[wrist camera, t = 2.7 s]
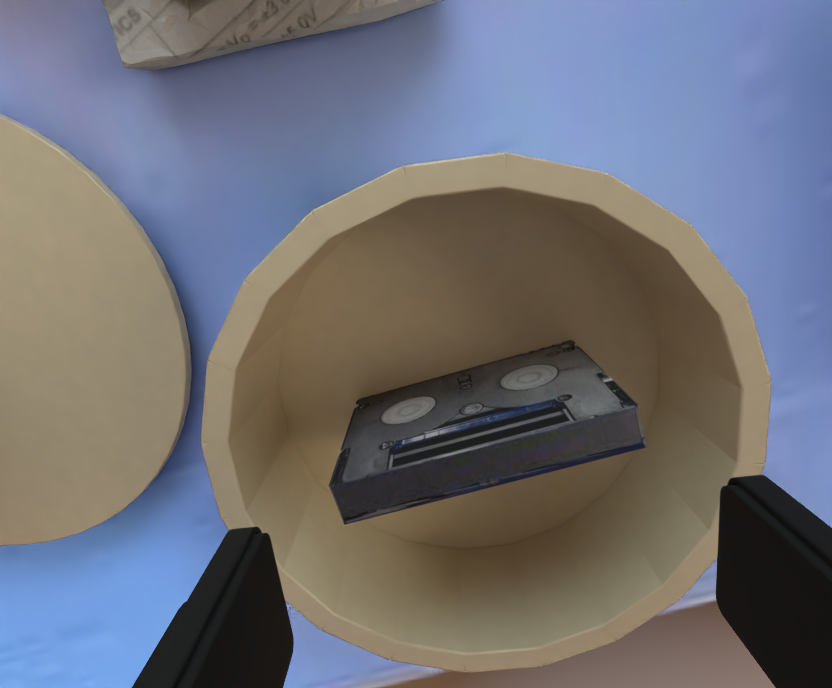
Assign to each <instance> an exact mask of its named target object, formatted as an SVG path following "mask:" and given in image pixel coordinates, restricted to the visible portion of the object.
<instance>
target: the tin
mask: <svg viewBox="0 0 832 688" xmlns="http://www.w3.org/2000/svg"><path fill="white" fill-rule="evenodd" d="M570 340H572V341H574V342H575V343H576V344H577V345H578V346H579V347H580V348H581V349H582V350H583V351H584V352H585V353H586V354H587V355H588V356H589V357H590V358H591V359H592V360H593V361H594V362H595V363H596V364H597V365H598V366H599V367H600V368H602V369H603V370H604V371H605V372H606V373H607V374H608V375H609V376H610V377H611V378H612V379H613V380H614V381H615V382H616V383H617V384H618V385H619V386H620V387H621V388H622V389H623V390H624V391H625V392H626V393H627V394H628V395H629V396H630V397H631V398H632V399H633V400H634V401H636V402H637V403H638V408H639V413H640V418H641V423H642V428H643V433H644V438H645V444H646V448H643V449H639V450H635V451H631V452H627V453H623V454H619V455H615V456H611V457H608V458H604V459H600V460H596V461H592V462H588V463H584V464H580V465H576V466H572V467H568V468H565V469H561V470H557V471H553V472H549V473H545V474H541V475H537V476H533V477H529V478H526V479H522V480H518V481H514V482H510V483H506V484H502V485H498V486H494V487H490V488H487V489H483V490H479V491H475V492H471V493H467V494H463V495H459V496H455V497H451V498H447V499H444V500H440V501H436V502H432V503H428V504H424V505H420V506H416V507H412V508H408V509H405V510H401V511H397V512H393V513H389V514H385V515H381V516H377V517H373V518H369V519H366V520H362V521H358V522H354V523H350V524H346V525H344V523H343V520H342V518H341V515H340V513H339V510H338V508H337V505H336V503H335V500H334V498H333V495H332V492H331V490H330V487H329V483H330V480H331V477H332V474H333V471H334V468H335V465H336V462H337V459H338V456H339V453H340V450H341V447H342V444H343V441H344V438H345V434H346V431H347V428H348V425H349V422H350V419H351V416H352V413H353V410H354V407H355V404H356V401H357V400H359V399H361V398H364V397H368V396H371V395H375V394H379V393H382V392H386V391H389V390H393V389H397V388H400V387H404V386H407V385H411V384H415V383H418V382H422V381H425V380H429V379H433V378H436V377H440V376H443V375H447V374H450V373H454V372H458V371H461V370H465V369H468V368H472V367H476V366H479V365H483V364H486V363H490V362H494V361H497V360H501V359H504V358H508V357H511V356H515V355H519V354H522V353H526V352H529V351H533V350H537V349H540V348H544V347H547V346H551V345H555V344H558V343H562V342H565V341H570ZM770 381H771V377H770V374H769V370H768V367H767V363H766V360H765V357H764V353H763V350H762V346H761V343H760V339H759V336H758V333H757V329H756V326H755V322H754V319H753V315H752V312H751V309H750V305H749V302H748V300H747V296H746V295H745V294H744V292H743V291H742V290H741V288H740V287H739V286H738V285H737V283H736V282H735V281H734V279H733V278H732V277H731V275H730V274H729V273H728V272H727V270H726V269H725V268H724V266H723V265H722V264H721V262H720V261H719V260H718V258H717V257H716V256H715V255H714V253H713V252H712V251H711V249H710V248H709V247H708V245H707V244H706V243H705V242H704V240H703V239H702V238H701V236H700V235H699V234H698V232H697V231H696V230H695V229H694V227H693V226H691V225H690V224H689V223H688V222H686V221H685V220H683V219H682V218H680V217H678V216H677V215H675V214H673V213H672V212H670V211H669V210H667V209H665V208H664V207H662V206H660V205H659V204H657V203H656V202H654V201H652V200H651V199H649V198H647V197H646V196H644V195H643V194H641V193H639V192H638V191H636V190H634V189H633V188H631V187H630V186H628V185H626V184H625V183H623V182H621V181H620V180H618V179H617V178H615V177H613V176H612V175H610V174H606V173H605V172H601V171H596V170H591V169H586V168H582V167H577V166H572V165H567V164H562V163H557V162H552V161H548V160H543V159H538V158H533V157H528V156H523V155H519V154H514V153H509V152H508V153H503V152H501V153H494V154H486V155H479V156H471V157H463V158H456V159H448V160H441V161H433V162H425V163H418V164H410V165H405V166H403V167H402V166H401V167H398V168H396V169H394V170H392V171H390V172H388V173H386V174H384V175H382V176H380V177H378V178H376V179H374V180H372V181H370V182H368V183H366V184H364V185H362V186H360V187H358V188H356V189H354V190H352V191H350V192H348V193H346V194H344V195H342V196H340V197H338V198H336V199H334V200H332V201H330V202H328V203H326V204H324V205H322V206H320V207H318V208H316V209H314V210H312V212H310V213H308V214H307V215H306V216H305V217H304V218H303V219H302V220H301V222H300V223H299V224H298V225H297V226H296V227H295V228H294V229H293V230H292V231H291V232H290V233H289V234H288V235H287V236H286V237H285V238H284V239H283V240H282V241H281V242H280V243H279V244H278V245H277V246H276V247H275V248H274V249H273V250H272V251H271V252H270V253H269V254H268V255H267V256H266V257H265V258H264V259H263V260H262V261H261V262H260V264H259V265H258V266H257V267H256V268H255V269H254V270H253V271H252V272H251V273H250V274H249V275H248V276H247V277H246V278H245V280H244V281H243V283H242V285H241V287H240V289H239V291H238V293H237V296H236V298H235V300H234V302H233V304H232V307H231V309H230V311H229V313H228V315H227V318H226V320H225V322H224V324H223V326H222V328H221V331H220V333H219V335H218V337H217V339H216V342H215V344H214V346H213V348H212V350H211V353H210V355H209V357H208V362H207V369H206V382H205V394H204V406H203V419H202V431H201V447H202V451H203V454H204V458H205V462H206V466H207V469H208V473H209V477H210V481H211V484H212V488H213V492H214V496H215V499H216V503H217V507H218V511H219V514H220V517H221V518H222V521H223V522H224V524H225V525H226V527H227V528H228V530H231V529H237V528H247V527H259V528H260V530H261V532H262V533H268V534H269V535H270V538H271V542H272V547H273V551H274V555H275V560H276V564H277V568H278V573H279V577H280V581H281V585H282V590H283V594H284V598H285V601H286V602H287V603H289V604H290V605H291V606H292V607H293V608H295V609H296V610H297V611H298V612H299V613H301V614H302V615H303V616H304V617H306V618H307V619H308V620H309V621H310V622H312V623H313V624H314V625H315V626H316V627H318V628H319V629H322V631H324V632H327V633H329V634H331V635H333V636H336V637H338V638H340V639H342V640H345V641H347V642H349V643H351V644H354V645H356V646H358V647H360V648H363V649H365V650H367V651H369V652H372V653H374V654H376V655H378V656H381V657H383V658H385V659H387V660H390V659H391V660H392V661H397V662H403V663H409V664H415V665H421V666H427V667H433V668H439V669H445V670H451V671H457V672H464V671H465V672H466V673H470V672H481V671H482V672H483V671H494V670H507V669H519V668H532V667H540V666H541V665H542V666H545V665H548V664H551V663H554V662H557V661H560V660H563V659H566V658H569V657H572V656H575V655H578V654H581V653H583V652H587V651H590V650H592V649H596V648H599V647H601V646H604V645H607V644H610V643H613V642H614V640H615V641H618V640H619V639H621V638H622V637H623V636H625V635H627V634H628V633H630V632H631V631H633V630H634V629H636V628H637V627H639V626H641V625H642V624H644V623H645V622H647V621H648V620H650V619H651V618H653V617H654V616H656V615H657V614H659V613H660V612H662V611H663V610H665V609H666V608H668V607H670V606H671V605H673V604H674V603H676V602H677V601H679V600H680V598H682V597H683V596H684V595H685V594H686V593H687V592H688V590H689V589H690V588H691V587H692V586H693V585H694V584H695V582H696V581H697V580H698V579H699V578H700V577H701V575H702V574H703V573H704V572H705V571H706V570H707V569H708V567H709V566H710V565H711V564H712V563H713V562H714V560H715V559H716V558H717V557H718V532H719V507H720V491H721V488H722V487H723V486H727V484H728V481H729V479H731V478H733V477H743V476H752V475H761V473H762V471H763V469H764V463H765V462H766V449H767V436H768V423H769V410H770V397H771V382H770Z"/></svg>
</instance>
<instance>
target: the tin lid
mask: <svg viewBox="0 0 832 688" xmlns="http://www.w3.org/2000/svg"><path fill="white" fill-rule="evenodd" d="M191 377H192V371H191V353H190V343H189V338H188V332H187V327H186V322H185V317H184V314H183V311H182V307H181V304H180V301H179V298H178V295H177V292H176V289H175V286H174V284H173V282H172V280H171V278H170V276H169V273H168V271H167V269H166V267H165V265H164V263H163V261H162V258H161V257H160V255H159V253H158V252H157V250H156V248H155V247H154V245H153V244H152V242H151V240H150V239H149V237H148V235H147V234H146V232H145V231H144V229H143V228H142V226H141V225H140V224H139V222H138V221H137V220H136V219H135V217H134V216H133V215H132V214H131V212H130V211H129V210H128V208H127V207H126V206H125V205H124V203H123V202H122V201H121V200H120V199H119V198H118V197H117V196H116V195H115V194H114V193H113V192H112V191H111V190H110V188H109V187H108V186H107V185H106V184H105V183H104V182H103V181H102V180H101V179H100V178H99V177H98V176H97V175H96V174H95V173H93V172H92V171H91V170H90V169H88V168H87V167H86V166H85V165H84V164H82V163H81V162H80V161H79V160H77V159H76V158H75V157H74V156H73V155H71V154H70V153H69V152H68V151H66V150H65V149H63V148H62V147H60V146H59V145H57V144H55V143H54V142H52V141H51V140H49V139H48V138H46V137H45V136H43V135H42V134H40V133H38V132H37V131H35V130H33V129H31V128H29V127H27V126H25V125H23V124H21V123H19V122H17V121H15V120H13V119H11V118H9V117H7V116H5V115H3V114H0V545H26V544H35V543H41V542H48V541H54V540H58V539H61V538H65V537H68V536H72V535H75V534H78V533H81V532H83V531H86V530H88V529H90V528H92V527H94V526H97V525H99V524H101V523H103V522H105V521H106V520H108V519H109V518H111V517H113V516H114V515H116V514H117V513H119V512H120V511H122V510H123V509H125V508H126V507H127V506H128V505H129V504H130V503H132V502H133V501H134V500H135V499H136V498H137V497H138V496H140V495H141V494H142V493H143V492H144V491H145V490H146V488H147V487H148V486H149V485H150V484H151V482H152V481H153V480H154V479H155V478H156V477H157V475H158V474H159V473H160V472H161V471H162V469H163V467H164V466H165V464H166V462H167V461H168V459H169V457H170V456H171V454H172V452H173V451H174V449H175V446H176V444H177V441H178V439H179V436H180V434H181V431H182V429H183V426H184V422H185V418H186V414H187V409H188V405H189V400H190V388H191Z"/></svg>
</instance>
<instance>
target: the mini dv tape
mask: <svg viewBox="0 0 832 688" xmlns="http://www.w3.org/2000/svg"><path fill="white" fill-rule="evenodd" d="M643 448H646V444H645V438H644V433H643V428H642V423H641V418H640V413H639V408H638V403H637V402H636V401H634V400H633V399H632V398H631V397H630V396H629V395H628V394H627V393H626V392H625V391H624V390H623V389H622V388H621V387H620V386H619V385H618V384H617V383H616V382H615V381H614V380H613V379H612V378H611V377H610V376H609V375H608V374H607V373H606V372H605V371H604V370H603V369H602V368H600V367H599V366H598V365H597V364H596V363H595V362H594V361H593V360H592V359H591V358H590V357H589V356H588V355H587V354H586V353H585V352H584V351H583V350H582V349H581V348H580V347H579V346H578V345H577V344H576V343H575V342H574V341H572V340H570V341H565V342H562V343H558V344H555V345H551V346H547V347H544V348H540V349H537V350H533V351H529V352H526V353H522V354H519V355H515V356H511V357H508V358H504V359H501V360H497V361H494V362H490V363H486V364H483V365H479V366H476V367H472V368H468V369H465V370H461V371H458V372H454V373H450V374H447V375H443V376H440V377H436V378H433V379H429V380H425V381H422V382H418V383H415V384H411V385H407V386H404V387H400V388H397V389H393V390H389V391H386V392H382V393H379V394H375V395H371V396H368V397H364V398H361V399H359V400H357V401H356V404H355V407H354V410H353V413H352V416H351V419H350V422H349V425H348V428H347V431H346V434H345V438H344V441H343V444H342V447H341V450H340V453H339V456H338V459H337V462H336V465H335V468H334V471H333V474H332V477H331V480H330V483H329V487H330V490H331V492H332V495H333V498H334V500H335V503H336V505H337V508H338V510H339V513H340V515H341V518H342V520H343V523H344V525H346V524H350V523H354V522H358V521H362V520H366V519H369V518H373V517H377V516H381V515H385V514H389V513H393V512H397V511H401V510H405V509H408V508H412V507H416V506H420V505H424V504H428V503H432V502H436V501H440V500H444V499H447V498H451V497H455V496H459V495H463V494H467V493H471V492H475V491H479V490H483V489H487V488H490V487H494V486H498V485H502V484H506V483H510V482H514V481H518V480H522V479H526V478H529V477H533V476H537V475H541V474H545V473H549V472H553V471H557V470H561V469H565V468H568V467H572V466H576V465H580V464H584V463H588V462H592V461H596V460H600V459H604V458H608V457H611V456H615V455H619V454H623V453H627V452H631V451H635V450H639V449H643Z"/></svg>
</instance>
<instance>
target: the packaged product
mask: <svg viewBox="0 0 832 688" xmlns="http://www.w3.org/2000/svg"><path fill="white" fill-rule="evenodd" d="M102 1H103V3H104V6H105V8H106V11H107V14H108V17H109V21H110V24H111V27H112V29H113V32H114V35H115V40H116V44H117V48H118V51H119V54H120V57H121V60H122V62H123V64H124V66H125V67H126V68H133V69H142V70H152V71H153V70H158V69H163V68H169V67H174V66H179V65H185V64H189V63H193V62H197V61H201V60H205V59H209V58H213V57H217V56H221V55H225V54H229V53H233V52H237V51H241V50H245V49H250V48H254V47H258V46H263V45H268V44H272V43H277V42H282V41H286V40H291V39H296V38H301V37H305V36H310V35H315V34H319V33H324V32H329V31H333V30H338V29H343V28H348V27H352V26H357V25H362V24H366V23H371V22H376V21H380V20H383V19H386V18H390V17H393V16H396V15H399V14H402V13H405V12H409V11H412V10H415V9H418V8H421V7H424V6H428V5H431V4H434V3H437V2H440V1H444V0H102Z"/></svg>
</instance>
